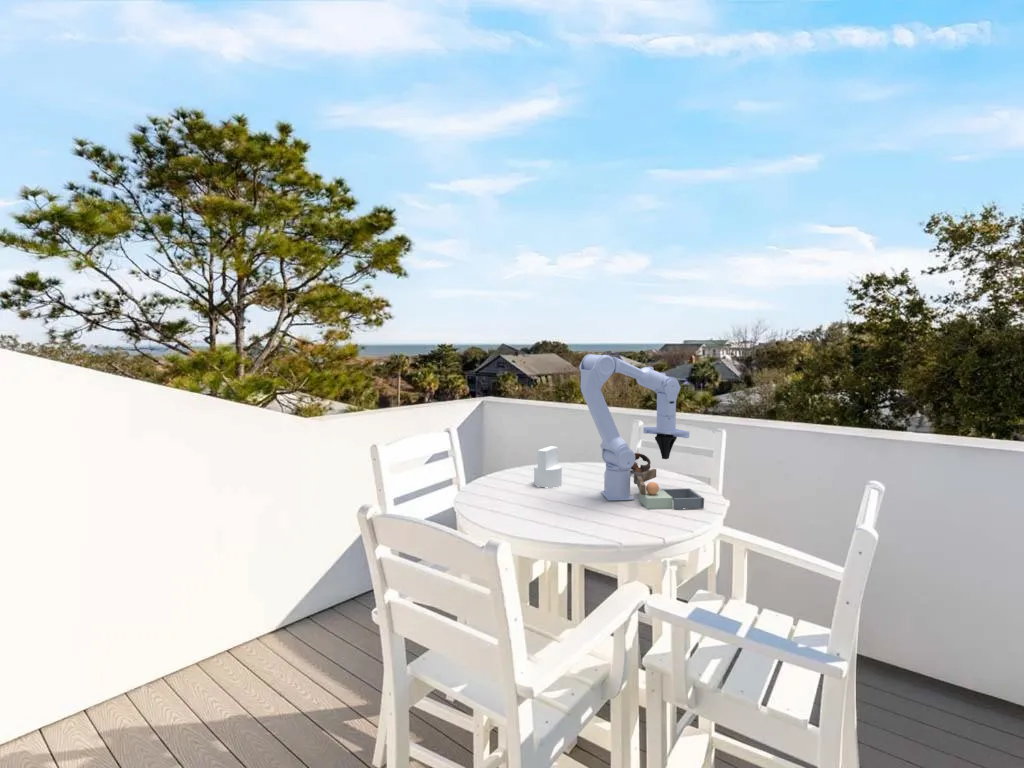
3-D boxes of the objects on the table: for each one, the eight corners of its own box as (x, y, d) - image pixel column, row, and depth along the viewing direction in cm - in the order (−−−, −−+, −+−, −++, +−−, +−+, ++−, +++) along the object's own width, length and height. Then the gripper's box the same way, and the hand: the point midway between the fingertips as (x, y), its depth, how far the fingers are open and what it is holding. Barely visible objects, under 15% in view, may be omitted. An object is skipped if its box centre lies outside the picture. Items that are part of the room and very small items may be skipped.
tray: (661, 499, 177) (662, 489, 177) (689, 498, 178) (689, 488, 177) (674, 509, 166) (674, 499, 166) (703, 508, 167) (703, 498, 167)
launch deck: (639, 500, 175) (639, 490, 175) (663, 500, 176) (663, 490, 175) (647, 508, 167) (647, 498, 167) (672, 508, 168) (672, 497, 167)
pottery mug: (644, 471, 215) (651, 454, 211) (645, 488, 207) (653, 471, 203) (612, 463, 215) (619, 445, 211) (612, 480, 207) (619, 462, 202)
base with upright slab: (553, 489, 189) (553, 452, 188) (529, 485, 193) (529, 449, 192) (566, 483, 196) (566, 447, 195) (542, 480, 201) (542, 445, 200)
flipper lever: (639, 475, 192) (639, 466, 192) (656, 476, 190) (656, 467, 190) (626, 493, 171) (626, 483, 171) (645, 495, 169) (645, 484, 169)
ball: (644, 492, 173) (644, 480, 172) (656, 492, 173) (656, 480, 173) (648, 496, 169) (648, 483, 169) (660, 495, 169) (660, 483, 169)
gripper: (694, 415, 182) (693, 459, 183) (651, 411, 191) (650, 453, 192) (683, 418, 176) (683, 463, 178) (640, 414, 186) (639, 457, 187)
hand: (665, 458), depth 185 cm, fingers closed
